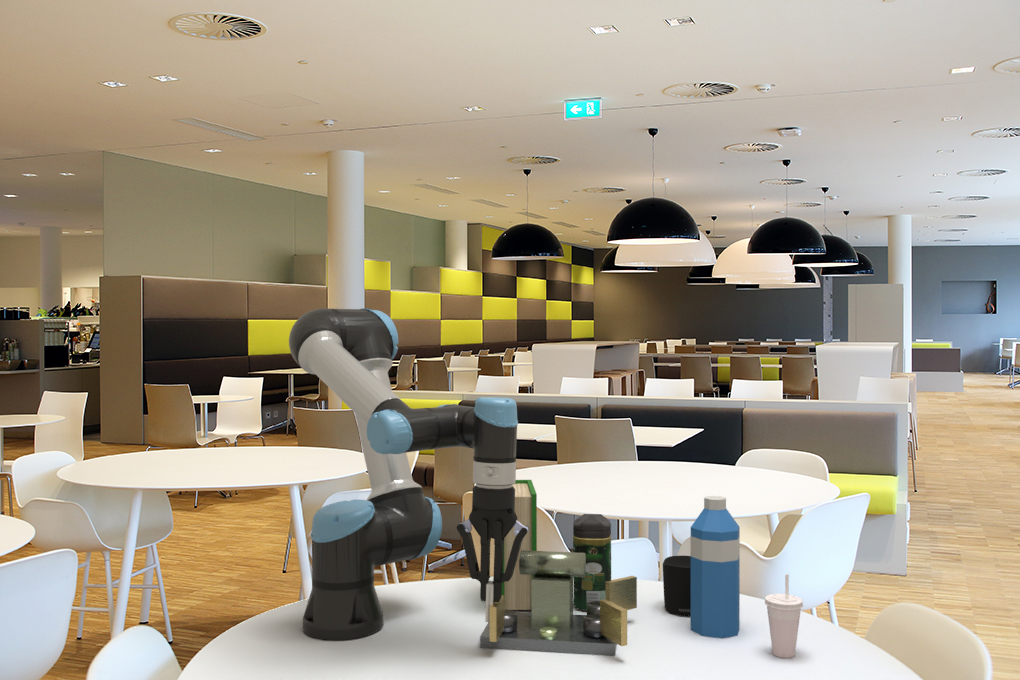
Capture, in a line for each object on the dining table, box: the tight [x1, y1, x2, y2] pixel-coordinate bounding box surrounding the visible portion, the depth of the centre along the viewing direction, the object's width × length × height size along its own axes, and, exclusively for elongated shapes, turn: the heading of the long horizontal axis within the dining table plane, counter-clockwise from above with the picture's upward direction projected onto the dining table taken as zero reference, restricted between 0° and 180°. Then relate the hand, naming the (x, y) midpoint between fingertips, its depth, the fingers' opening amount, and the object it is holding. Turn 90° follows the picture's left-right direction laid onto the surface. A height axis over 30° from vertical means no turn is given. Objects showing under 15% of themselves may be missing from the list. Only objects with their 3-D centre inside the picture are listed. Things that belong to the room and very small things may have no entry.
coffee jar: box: [572, 513, 612, 611], centre depth 180 cm, size 10×8×19 cm
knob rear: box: [585, 575, 638, 616], centre depth 167 cm, size 12×5×6 cm, turn 126°
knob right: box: [583, 599, 628, 647], centre depth 154 cm, size 12×5×6 cm, turn 25°
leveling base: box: [479, 550, 618, 656], centre depth 162 cm, size 24×15×15 cm, turn 80°
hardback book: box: [502, 479, 538, 611], centre depth 184 cm, size 18×7×24 cm, turn 2°
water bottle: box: [690, 495, 741, 639], centre depth 166 cm, size 9×9×25 cm
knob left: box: [490, 595, 518, 642], centre depth 157 cm, size 12×5×6 cm, turn 169°
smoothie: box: [764, 573, 804, 659], centre depth 153 cm, size 6×6×14 cm
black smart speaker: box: [662, 555, 691, 618], centre depth 177 cm, size 9×9×10 cm
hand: (490, 619), depth 154 cm, fingers closed
